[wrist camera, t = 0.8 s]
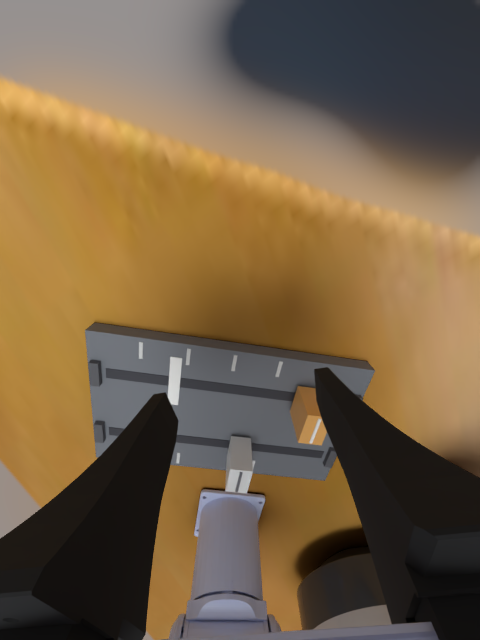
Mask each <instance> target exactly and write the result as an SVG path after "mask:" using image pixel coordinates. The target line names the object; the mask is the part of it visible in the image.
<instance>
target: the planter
mask: <svg viewBox="0 0 480 640" xmlns="http://www.w3.org/2000/svg"><path fill="white" fill-rule="evenodd" d="M297 599H298V605H299V612H300V618H301V625H302V630H314V629H329V628H344V627H359V626H374V625H389V624H392V623H391V620H390V617H389V613H388V610H387V606H386V603H385V599H384V596H383V593H382V589H381V586H380V582H379V579H378V576H377V572H376V569H375V566H374V562H373V559H372V556H371V553H370V549H369V547H356V548H350V549H346V550H343V551H341V552H338V553H337V554H335V555H333V556H332V557H330V558H329V559H327V560H326V561H325V562H324V563H323V564H322V565H321V566H320V567H319V568H317V569H316V570H314V571H313V572H311V573H310V574H309V575H307V576H306V577H305V578H304V579H303V581H302V582H301V583H300V585H299V587H298V590H297Z"/></svg>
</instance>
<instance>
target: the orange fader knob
mask: <svg viewBox="0 0 480 640" xmlns="http://www.w3.org/2000/svg"><path fill="white" fill-rule="evenodd" d="M290 414H291V418H292V422H293V426H294V429H295V433H296V437H297V441H298V443H304V444H313V445H322V443H323V441H324V438H325V436H326V433H327V431H326V428H325V426H324V423H323V421H322V418H321V414H320V411H319V408H318V405H317V401H316V389H315V388H310V387H302V386H298V387H297V390H296V394H295V397H294V400H293V403H292V406H291V409H290Z"/></svg>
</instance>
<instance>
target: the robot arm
mask: <svg viewBox="0 0 480 640" xmlns="http://www.w3.org/2000/svg"><path fill="white" fill-rule="evenodd" d="M314 375H315V389H316V401H317V405H318V408H319V411H320V414H321V418H322V421H323V423H324V426H325V428H326V431H327V433H328V435H329V438H330V440H331V442H332V445H333V447H334V449H335V452H336V454H337V456H338V459H339V461H340V463H341V466H342V468H343V470H344V473H345V476H346V478H347V481H348V484H349V487H350V490H351V493H352V496H353V499H354V502H355V505H356V508H357V511H358V514H359V518H360V521H361V524H362V527H363V530H364V533H365V536H366V540H367V543H368V546H369V549H370V553H371V556H372V559H373V562H374V566H375V569H376V572H377V576H378V579H379V582H380V586H381V589H382V593H383V596H384V599H385V603H386V606H387V610H388V613H389V617H390V620H391V623H392V624H389V625H374V626H359V627H344V628H329V629H314V630H299V631H284V632H281V628H280V626H279V624H278V623H277V621H276V620H275V617H274V616H273V615H272V614H267V607H266V601H263V594H262V579H261V564H260V549H259V533H258V521H259V518H260V515H261V512H262V509H263V506H264V503H265V496H264V495H260V494H250V493H237V492H227V491H219V490H208V489H203V490H202V491H201V495H200V501H199V507H198V513H197V519H196V526H195V532H194V535H195V536H197V537H198V541H197V550H196V558H195V566H194V575H193V583H192V591H191V600H188V603H187V611H186V614H180V615H179V616H178V618H177V619H176V621H175V622H174V623H173V625H172V628H171V631H170V636H169V639H163V640H480V478H479V477H477V476H475V475H473V474H471V473H469V472H467V471H465V470H463V469H462V468H460V467H458V466H456V465H454V464H453V463H451V462H449V461H447V460H445V459H444V458H442V457H441V456H439V455H437V454H436V453H434V452H432V451H431V450H429V449H427V448H426V447H424V446H423V445H421V444H419V443H418V442H416V441H415V440H413V439H412V438H410V437H409V436H407V435H406V434H404V433H403V432H401V431H400V430H399V429H397V428H396V427H394V426H393V425H392V424H390V423H389V422H388V421H386V420H385V419H384V418H382V417H381V416H380V415H379V414H377V413H376V412H375V411H374V410H373V409H371V408H370V407H369V406H368V405H367V404H365V403H364V402H363V401H362V400H361V399H360V398H359V397H358V396H357V395H355V394H354V393H353V392H352V391H351V390H350V389H349V388H348V387H347V386H346V385H345V384H344V383H343V382H342V381H341V380H340V379H339V378H338V377H337V376H336V375H335V374H334V373H333V372H332V371H331V369H330V368H328V367H324V368H318V369H314ZM178 422H179V421H178V418H177V416H176V414H175V412H174V410H173V407H172V405H171V403H170V401H169V399H168V397H167V394H166V392H164V393H158V394H153V396H152V397H151V398H150V399H149V400H148V401H147V403H146V404H145V405H144V406H143V408H142V409H141V410H140V411H139V412H138V414H137V415H136V416H135V417H134V418H133V420H132V421H131V422H130V423H129V424H128V426H127V427H126V428H125V429H124V430H123V432H122V433H121V434H120V435H119V436H118V437H117V438H116V439H115V440H114V441H113V443H112V444H111V445H110V446H109V447H108V448H107V449H106V450H105V451H104V452H103V453H102V455H101V456H100V457H99V458H98V459H97V460H96V461H95V462H94V463H93V464H91V465H90V466H89V467H88V468H87V469H86V470H85V471H84V472H83V473H82V474H81V475H80V476H79V477H78V478H77V479H75V480H74V481H73V482H72V483H71V484H70V485H69V486H67V487H66V488H65V489H64V490H63V491H62V492H61V493H59V494H58V495H57V496H56V497H55V498H54V499H52V500H51V501H50V502H49V503H47V504H46V505H45V506H44V507H42V508H41V509H40V510H39V511H38V512H36V513H35V514H33V515H32V516H31V517H30V518H28V519H27V520H26V521H24V522H23V523H22V524H20V525H19V526H18V527H16V528H15V529H13V530H12V531H11V532H9V533H8V534H6V535H5V536H4V537H2V538H1V539H0V640H142V639H143V637H144V636H145V633H146V619H147V608H148V597H149V586H150V578H151V569H152V560H153V552H154V545H155V538H156V531H157V524H158V518H159V512H160V506H161V500H162V496H163V491H164V487H165V483H166V479H167V476H168V472H169V468H170V464H171V460H172V456H173V452H174V448H175V444H176V438H177V431H178Z"/></svg>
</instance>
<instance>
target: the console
mask: <svg viewBox="0 0 480 640" xmlns="http://www.w3.org/2000/svg"><path fill="white" fill-rule="evenodd" d="M85 334H86V346H87V357H88V369H89V380H90V391H91V403H92V414H93V426H94V437H95V449H96V457H100V456H101V455H102V453H103V452H104V451H105V450H106V449H107V448H108V447H109V446H110V445H111V444H112V443H113V441H114V440H115V439H116V438H117V437H118V436H119V435H120V434H121V433H122V432H123V430H124V429H125V428H126V427H127V426H128V424H129V423H130V422H131V421H132V420H133V418H134V417H135V416H136V415H137V414H138V412H139V411H140V410H141V409H142V408H143V406H144V405H145V404H146V403H147V401H148V400H149V399H150V398H151V397H152V396H153V394H158V393H164V392H166V394H167V397H168V399H169V401H170V403H171V405H172V407H173V410H174V412H175V414H176V416H177V418H178V421H179V422H178V431H177V438H176V444H175V448H174V452H173V456H172V460H171V464H170V465H178V466H188V467H198V468H207V469H217V470H226V463H227V453H228V449H229V444H230V439H231V436H236V437H244V438H251V448H252V464H253V473H256V474H266V475H275V476H285V477H295V478H304V479H314V480H324V481H325V479H326V477H327V475H328V473H329V470H330V468H332V466H333V463H334V461H335V459H336V457H337V454H336V452H335V449H334V447H333V445H332V442H331V440H330V438H329V435H328V433H326V436H325V438H324V441H323V443H322V445H313V444H304V443H298V441H297V437H296V433H295V429H294V426H293V422H292V418H291V414H290V409H291V406H292V403H293V400H294V397H295V394H296V390H297V387H298V386H302V387H310V388H315V375H314V369H318V368H324V367H328V368H330V369H331V371H332V372H333V373H334V374H335V375H336V376H337V377H338V378H339V379H340V380H341V381H342V382H343V383H344V384H345V385H346V386H347V387H348V388H349V389H350V390H351V391H352V392H353V393H354V394H355V395H357V396H358V397H359V398H360V399H361V400H363V396H364V394H365V392H366V389H367V387H368V385H369V383H370V381H371V378H372V376H373V374H374V372H375V370H374V369H373V368H372V367H371V365H370V364H369V363H368V362H367V361H361V360H354V359H347V358H340V357H333V356H326V355H319V354H312V353H305V352H298V351H291V350H284V349H277V348H270V347H263V346H256V345H249V344H242V343H235V342H228V341H221V340H214V339H207V338H200V337H193V336H186V335H179V334H172V333H164V332H157V331H150V330H143V329H136V328H129V327H122V326H115V325H108V324H101V323H94V324H92V325H91V326H90V327H88V328H87V329H86V330H85Z"/></svg>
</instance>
